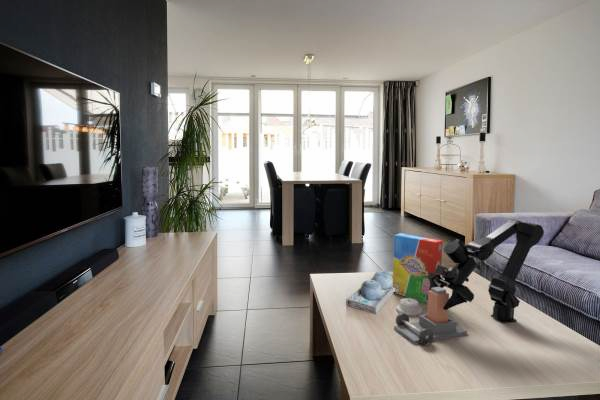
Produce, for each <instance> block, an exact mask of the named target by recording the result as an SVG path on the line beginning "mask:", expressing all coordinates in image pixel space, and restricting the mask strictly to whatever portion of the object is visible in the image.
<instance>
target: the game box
mask: <svg viewBox="0 0 600 400" xmlns="http://www.w3.org/2000/svg"><path fill="white" fill-rule="evenodd" d="M393 239H394V240H393V266H392V288H393V287H394V288H395V293H394V294H395V295H400V296H403V297H405V298H412V299H416V301H418V302H422V303H424V304H426V305H428V300H427V299H426V298H427V295H428V291H429V289H430V281H429V278H428V277H427V276H428V275H429V274H430V273H431V272H434V273H435V270H436V268H437V265H441V266H442V258H443V256H442V255H443V242H444V240H441V239H435V238H430V237H429V238H428V237H425V236H424V237H421V236H418V235H413V234H412V235H411V234H407V233H403V232H400V233H397V234H394V236H393ZM436 274H439V273H436ZM439 275H440V274H439ZM440 276H441V277H442V275H440Z"/></svg>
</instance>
